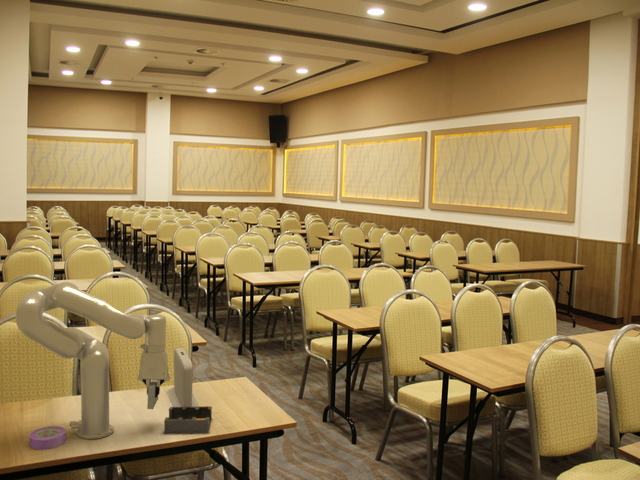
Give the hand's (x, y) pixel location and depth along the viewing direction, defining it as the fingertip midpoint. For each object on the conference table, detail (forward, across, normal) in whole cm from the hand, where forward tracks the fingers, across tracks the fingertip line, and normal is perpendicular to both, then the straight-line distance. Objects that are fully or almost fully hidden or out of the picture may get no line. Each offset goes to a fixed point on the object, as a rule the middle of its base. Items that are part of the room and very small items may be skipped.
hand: (153, 395), depth 226 cm
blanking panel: (+3, 0, 0) cm, 3 cm away
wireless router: (+12, +8, +29) cm, 32 cm away
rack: (+12, +14, 0) cm, 18 cm away
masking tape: (+14, -33, -13) cm, 38 cm away
